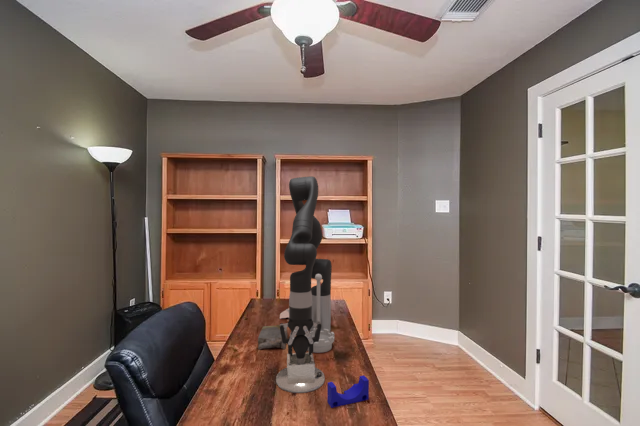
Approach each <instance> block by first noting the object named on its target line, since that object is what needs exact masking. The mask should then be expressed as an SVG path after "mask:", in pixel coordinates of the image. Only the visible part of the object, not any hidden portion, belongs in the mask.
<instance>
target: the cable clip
mask: <svg viewBox="0 0 640 426" xmlns="http://www.w3.org/2000/svg"><path fill="white" fill-rule="evenodd" d="M358 379H359V380H358V383H353V385H352V386H351V387H350V388H348V389H347V390H344V391H343V393H339V392H338V391H337V390H338V389H337V385H336V384H335V383H334V382H333V381H328V382H327V391H326V392H327V393H326V394H327V398H326V399H327V404H328V405H329V407H330V408H331V409H332V408H337V407H341V406H347V405H350V404H355V403H359V402H364V401H368V400H370V399H369V395H370V394H369V392H370V391H369V390H370V389H369V388H370V386H369V385H370V380H369V378H367V376H365V375H359V378H358Z"/></svg>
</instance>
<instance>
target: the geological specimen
mask: <svg viewBox="0 0 640 426" xmlns="http://www.w3.org/2000/svg"><path fill="white" fill-rule="evenodd" d="M285 336H286V338H288V328H287V329H286V331H285ZM286 345H287V344H286V343H285V344H284V343H283V342H282V337H281V331H280V324H276V325H266V326H265V325H264V326H262V328H261V329H260V332H259V335H258V337H257V346H258V347H257V349H258V350H262V349H272V348H278V349H279V348H281V349H282V350H286Z"/></svg>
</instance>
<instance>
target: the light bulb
mask: <svg viewBox="0 0 640 426" xmlns="http://www.w3.org/2000/svg"><path fill="white" fill-rule="evenodd" d="M308 347H309V340H308V338H307V337H306V336H305V335H299V336H295V338H294V340H293V342H292V350H293V351H294V353H296V357H297V364H302V363H304V357H305V353H307V351H308Z"/></svg>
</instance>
